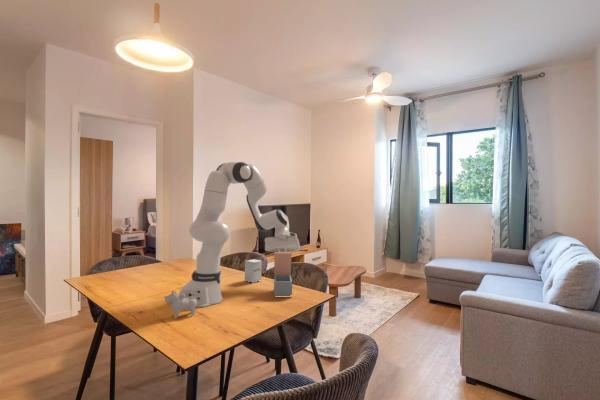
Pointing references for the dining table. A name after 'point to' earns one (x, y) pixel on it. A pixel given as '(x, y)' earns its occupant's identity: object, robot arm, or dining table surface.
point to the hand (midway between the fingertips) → (282, 256)
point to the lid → (282, 263)
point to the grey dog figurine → (181, 303)
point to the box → (282, 285)
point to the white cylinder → (253, 270)
